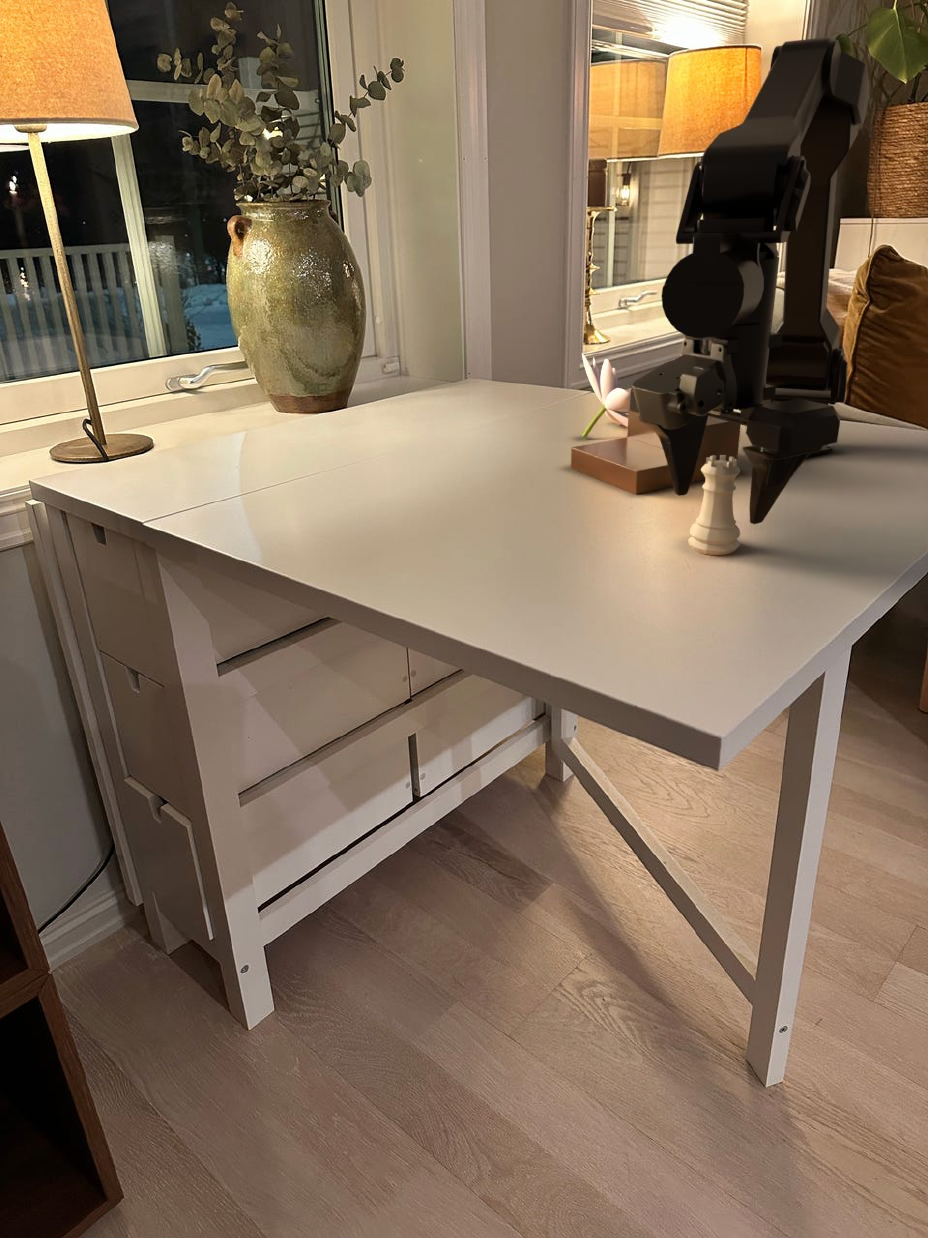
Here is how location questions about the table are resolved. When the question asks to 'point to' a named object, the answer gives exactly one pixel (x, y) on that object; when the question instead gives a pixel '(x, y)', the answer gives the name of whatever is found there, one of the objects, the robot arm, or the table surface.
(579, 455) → the step shelf
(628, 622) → the table surface
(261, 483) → the table surface
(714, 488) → the rook chess piece
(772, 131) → the robot arm
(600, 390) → the water lily
